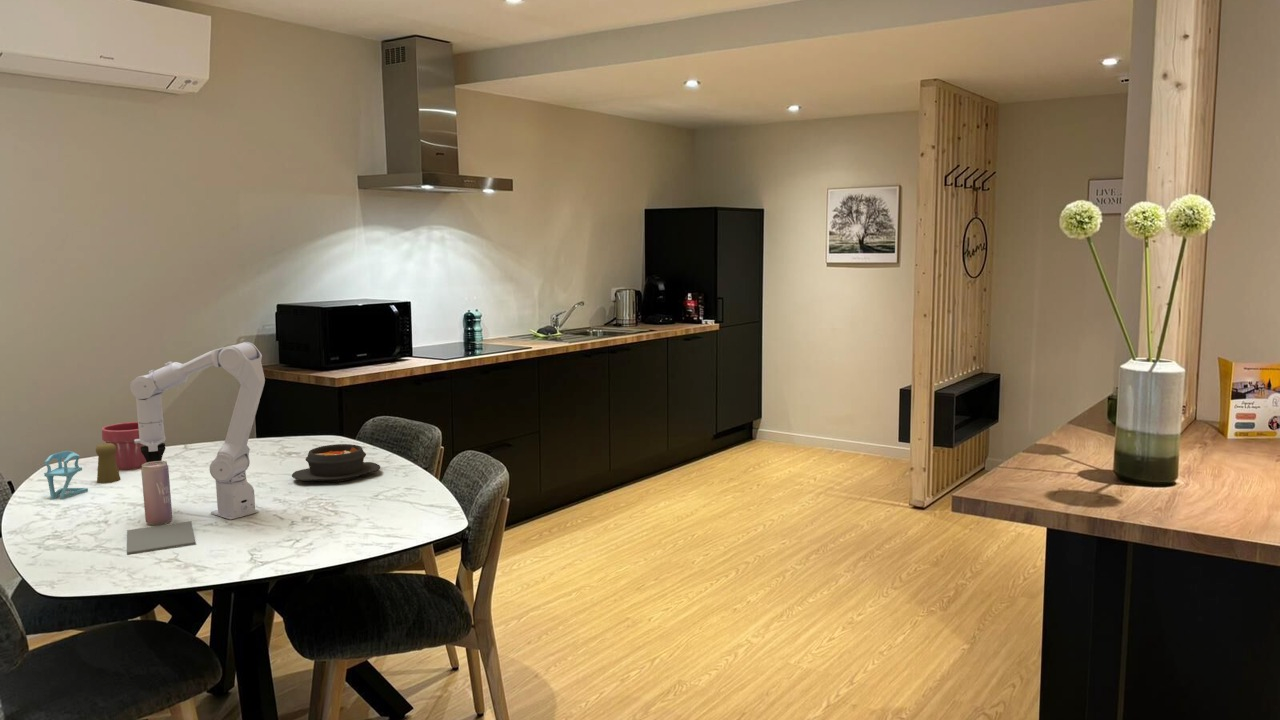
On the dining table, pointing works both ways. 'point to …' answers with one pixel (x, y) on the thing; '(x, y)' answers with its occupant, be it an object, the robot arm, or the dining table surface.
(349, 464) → the casserole
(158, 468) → the beverage can
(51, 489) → the chair
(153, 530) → the mat
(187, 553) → the dining table surface
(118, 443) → the plant pot
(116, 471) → the cork
